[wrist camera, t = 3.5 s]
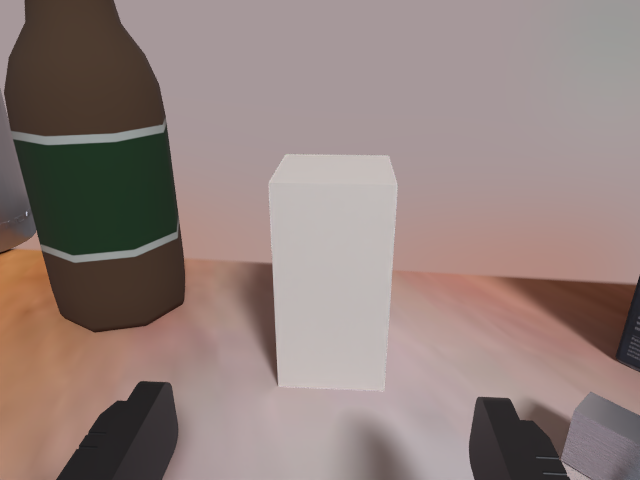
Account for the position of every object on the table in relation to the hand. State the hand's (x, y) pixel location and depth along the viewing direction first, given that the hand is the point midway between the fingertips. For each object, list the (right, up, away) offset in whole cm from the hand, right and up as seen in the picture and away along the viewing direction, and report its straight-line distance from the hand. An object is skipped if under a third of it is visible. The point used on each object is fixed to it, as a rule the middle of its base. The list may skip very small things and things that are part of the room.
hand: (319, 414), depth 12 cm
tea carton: (+1, -1, +12) cm, 12 cm away
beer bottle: (-12, +1, +17) cm, 21 cm away
